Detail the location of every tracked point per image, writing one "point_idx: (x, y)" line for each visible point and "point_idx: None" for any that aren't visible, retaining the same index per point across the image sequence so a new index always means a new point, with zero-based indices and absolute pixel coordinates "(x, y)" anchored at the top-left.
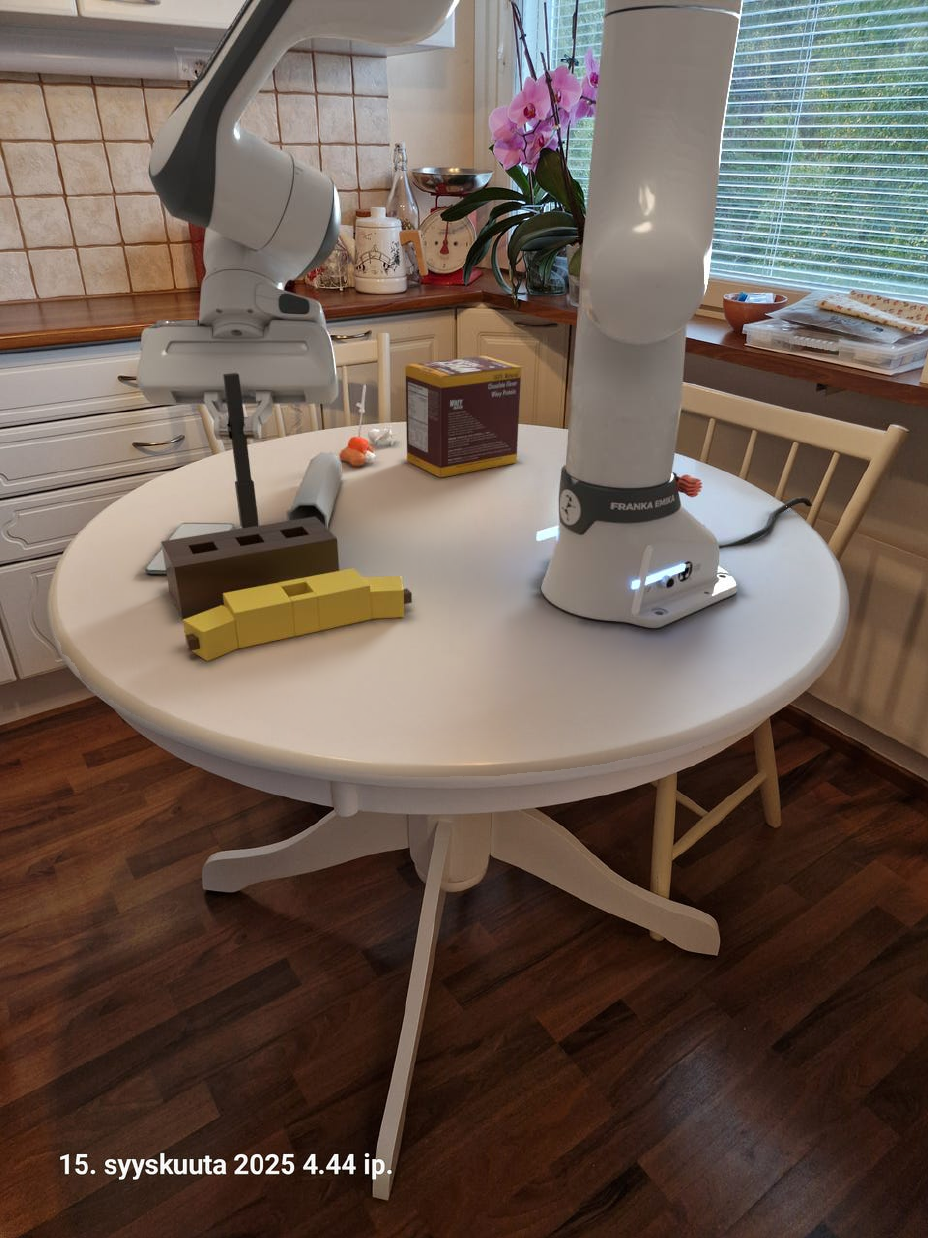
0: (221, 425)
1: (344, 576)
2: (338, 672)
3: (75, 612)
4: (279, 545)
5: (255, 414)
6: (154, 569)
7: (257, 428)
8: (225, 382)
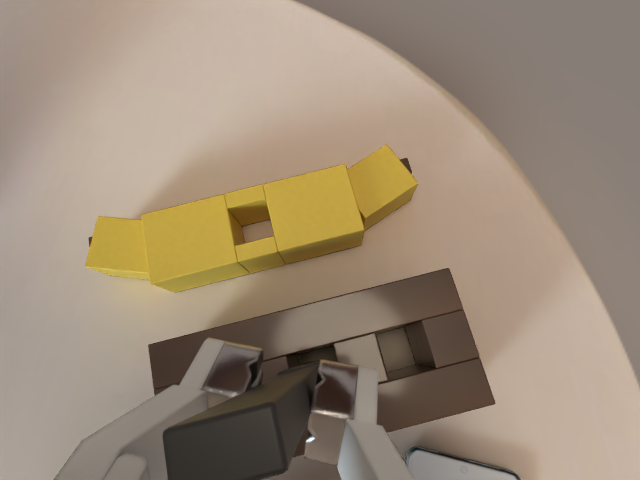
0: (345, 381)
1: (171, 253)
2: (232, 116)
3: (598, 342)
4: (260, 330)
5: (186, 394)
6: (503, 475)
7: (204, 342)
8: (284, 404)
